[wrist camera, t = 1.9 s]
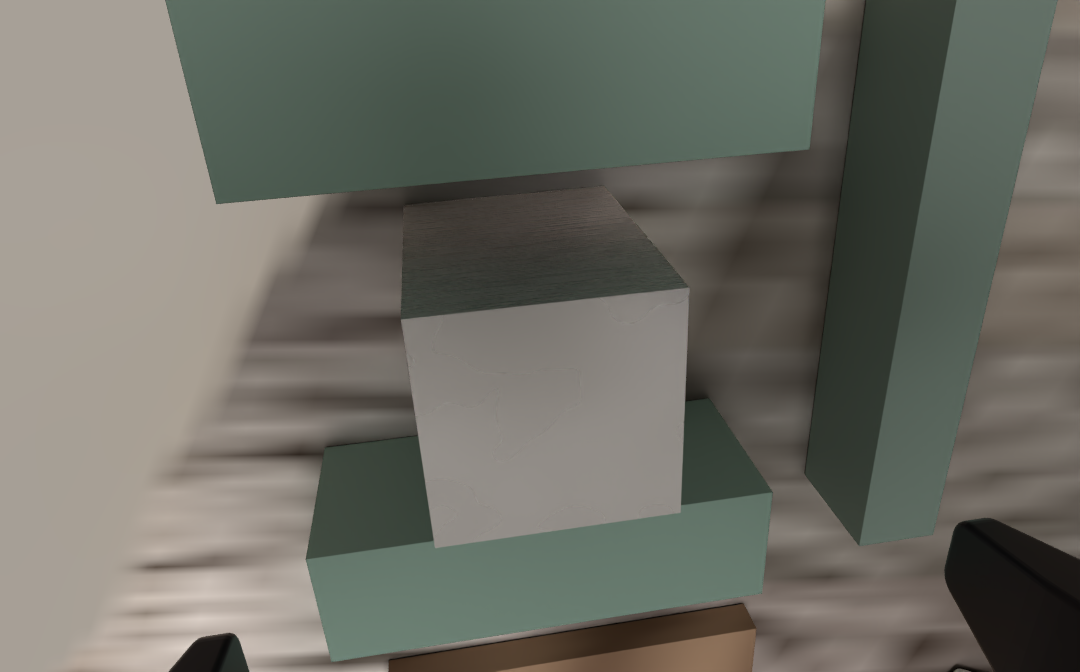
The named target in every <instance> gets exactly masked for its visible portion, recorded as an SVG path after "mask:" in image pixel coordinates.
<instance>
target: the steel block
mask: <svg viewBox="0 0 1080 672" xmlns="http://www.w3.org/2000/svg"><path fill="white" fill-rule="evenodd" d="M688 312H689V286H688V285H687V284H686V283H685V282H684V281H683V279H682V278H681V277H680V276H679V275H678V273H677V272H676V271H675V270H674V269H673V267H672V266H671V265H670V264H669V263H668V261H667V260H666V259H665V258H664V257H663V255H662V254H661V253H660V252H659V251H658V249H657V248H656V247H655V246H654V245H653V244H652V242H651V241H650V240H649V239H648V238H647V236H646V235H645V234H644V233H643V232H642V230H641V229H640V228H639V227H638V226H637V224H636V223H635V222H634V221H633V220H632V218H631V217H630V216H629V215H628V214H627V212H626V211H625V210H624V209H623V208H622V206H621V205H620V204H619V203H618V202H617V201H616V199H615V198H614V197H613V196H612V195H611V193H610V192H609V191H608V190H607V189H606V187H605V186H597V187H587V188H576V189H566V190H555V191H545V192H534V193H523V194H513V195H502V196H492V197H481V198H471V199H460V200H450V201H439V202H428V203H418V204H407V205H404V214H403V255H402V296H401V324H402V330H403V337H404V344H405V350H406V357H407V364H408V370H409V377H410V384H411V391H412V397H413V404H414V411H415V417H416V424H417V431H418V438H419V444H420V451H421V458H422V464H423V471H424V478H425V484H426V491H427V498H428V505H429V511H430V518H431V525H432V531H433V538H434V545H435V548H440V547H446V546H453V545H460V544H467V543H474V542H481V541H488V540H495V539H502V538H509V537H516V536H523V535H530V534H537V533H543V532H550V531H557V530H564V529H571V528H578V527H585V526H592V525H599V524H606V523H613V522H620V521H627V520H634V519H640V518H647V517H654V516H661V515H668V514H675V513H681V489H682V464H683V439H684V413H685V388H686V363H687V337H688Z"/></svg>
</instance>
